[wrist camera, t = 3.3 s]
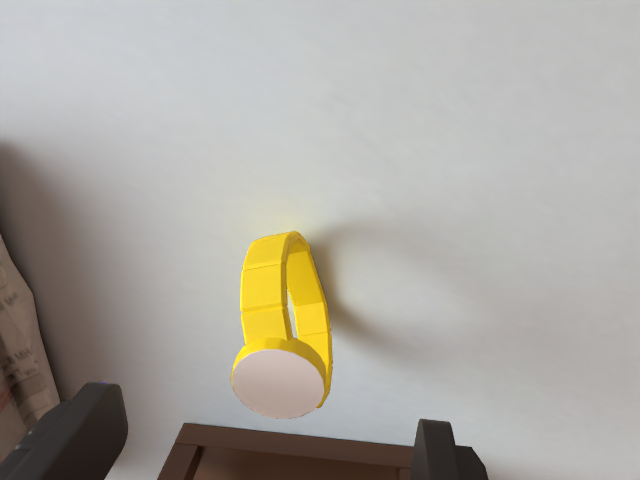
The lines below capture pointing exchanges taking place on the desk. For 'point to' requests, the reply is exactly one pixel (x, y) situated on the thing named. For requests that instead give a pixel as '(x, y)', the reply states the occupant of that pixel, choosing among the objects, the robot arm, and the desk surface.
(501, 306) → the desk surface
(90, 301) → the desk surface
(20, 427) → the packaged product
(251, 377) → the watch
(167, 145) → the desk surface
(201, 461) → the box
